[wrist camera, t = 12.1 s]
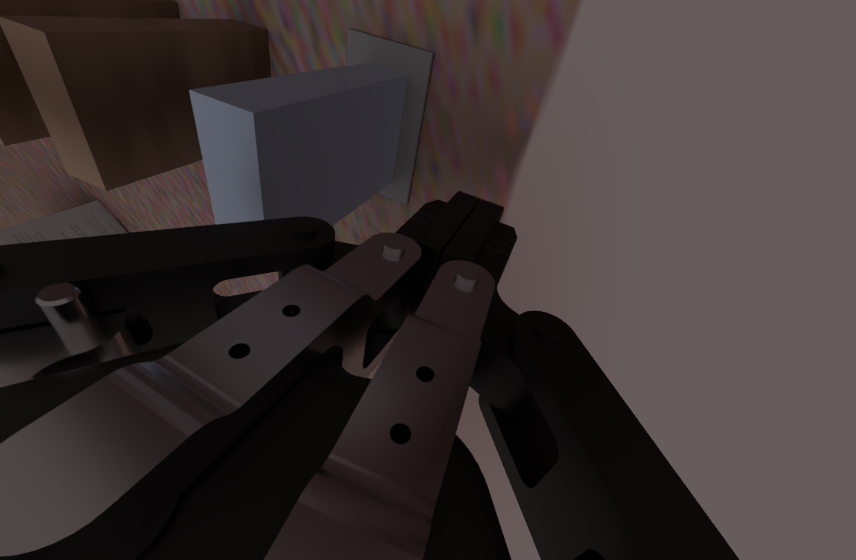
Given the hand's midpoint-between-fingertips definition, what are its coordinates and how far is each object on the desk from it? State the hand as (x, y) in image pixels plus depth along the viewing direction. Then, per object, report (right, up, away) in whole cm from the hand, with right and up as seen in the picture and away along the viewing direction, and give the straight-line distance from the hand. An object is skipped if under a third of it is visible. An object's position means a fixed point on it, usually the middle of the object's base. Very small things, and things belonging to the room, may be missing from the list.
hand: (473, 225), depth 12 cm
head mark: (-4, +6, +6) cm, 9 cm away
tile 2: (-10, +9, +7) cm, 15 cm away
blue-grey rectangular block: (-4, +6, +6) cm, 9 cm away
